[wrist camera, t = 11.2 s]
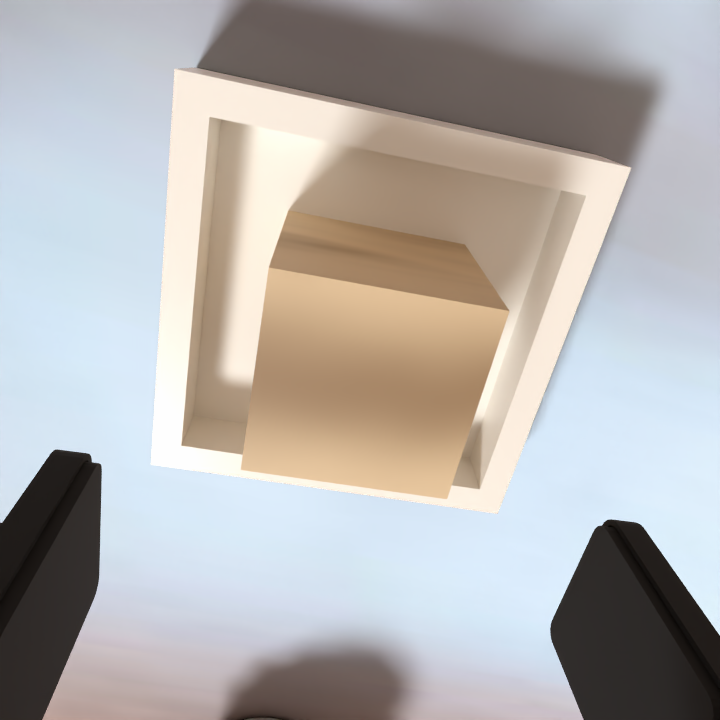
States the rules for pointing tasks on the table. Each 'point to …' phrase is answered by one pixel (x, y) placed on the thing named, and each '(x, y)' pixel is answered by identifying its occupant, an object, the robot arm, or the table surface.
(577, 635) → the robot arm
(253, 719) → the cupcake
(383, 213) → the tray
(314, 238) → the cube
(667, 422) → the table surface
